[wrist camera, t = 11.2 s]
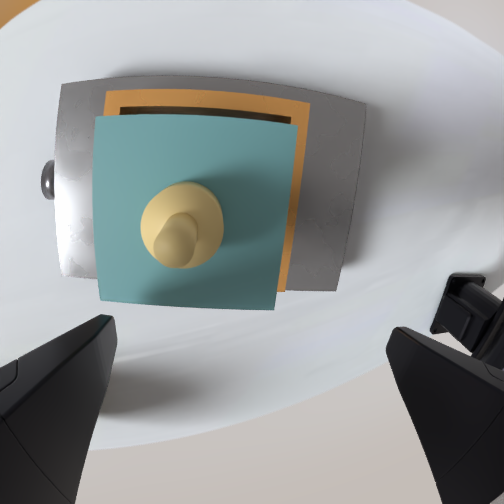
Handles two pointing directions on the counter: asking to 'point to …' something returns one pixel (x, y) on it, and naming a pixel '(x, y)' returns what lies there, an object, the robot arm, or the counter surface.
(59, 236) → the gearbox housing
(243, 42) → the counter surface
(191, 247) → the oil can
